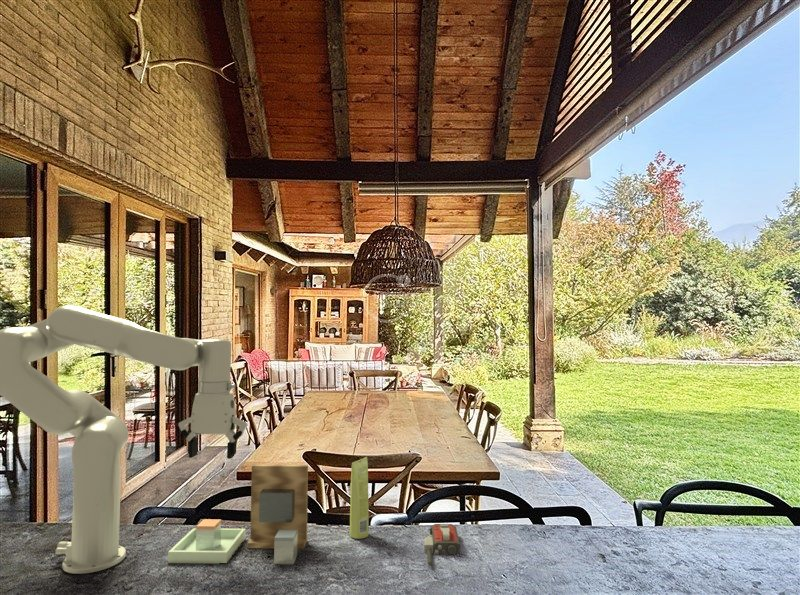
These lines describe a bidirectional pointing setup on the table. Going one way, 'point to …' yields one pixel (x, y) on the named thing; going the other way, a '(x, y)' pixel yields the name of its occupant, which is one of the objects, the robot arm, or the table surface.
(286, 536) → the block
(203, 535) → the block
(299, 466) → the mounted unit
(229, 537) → the tray
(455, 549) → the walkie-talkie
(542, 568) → the table surface
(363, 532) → the tube
